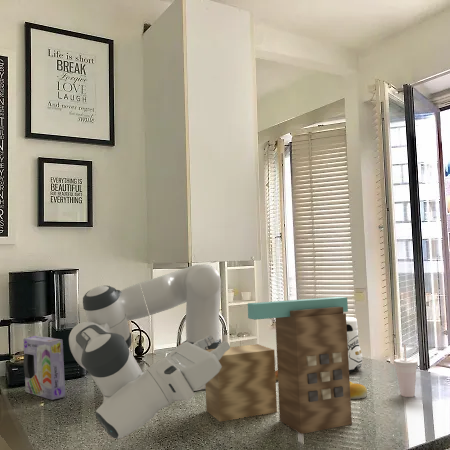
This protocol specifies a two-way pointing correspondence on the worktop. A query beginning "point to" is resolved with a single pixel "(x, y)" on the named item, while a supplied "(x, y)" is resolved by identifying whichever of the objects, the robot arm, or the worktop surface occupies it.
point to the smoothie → (406, 375)
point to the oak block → (243, 384)
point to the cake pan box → (44, 367)
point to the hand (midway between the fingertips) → (219, 340)
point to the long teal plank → (292, 307)
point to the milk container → (353, 344)
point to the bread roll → (357, 391)
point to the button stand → (313, 369)
